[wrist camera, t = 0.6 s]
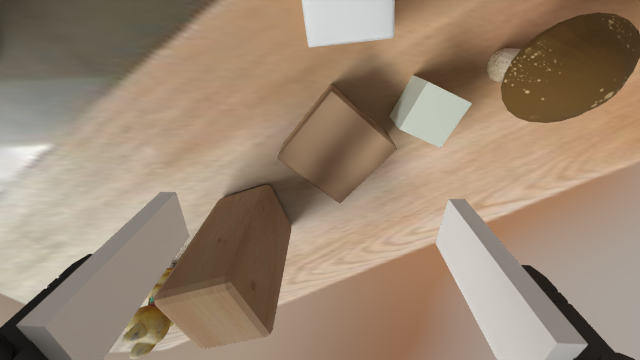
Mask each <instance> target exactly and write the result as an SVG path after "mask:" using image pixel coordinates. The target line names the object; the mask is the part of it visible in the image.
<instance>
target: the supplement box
mask: <svg viewBox="0 0 640 360" xmlns="http://www.w3.org/2000/svg"><path fill="white" fill-rule="evenodd" d="M394 5H395V0H302V7H303V14H304V21H305V28H306V34H307V41H308V46H309V47H320V46H329V45H338V44H348V43H356V42H365V41H373V40H381V39H389V38H393V36H394Z"/></svg>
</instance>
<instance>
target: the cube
mask: <svg viewBox="0 0 640 360" xmlns="http://www.w3.org/2000/svg"><path fill="white" fill-rule="evenodd" d="M471 104H472V103H470V102H468V101H466V100H464V99H462V98H460V97H458V96H456V95H454V94H452V93H450V92H448V91H446V90H444V89H442V88H440V87H438V86H436V85H434V84H432V83H430V82H428V81H426V80H423V79H421V78H419V77H416V76H414V75H412V77H411V79H410V80H409V82H408V84H407V86H406V87H405V89H404V91H403V93H402V95H401V96H400V98H399V100H398V102H397V103H396V105H395V107H394V109H393V110H392V112H391V114H390V116H389V117H390V118H391V119H392V121H393V122H394V123H395V125H396V126H397V127H398V128H399V129H400V130H402V131H404V132H406V133H409V134H411V135H413V136H415V137H417V138H420V139H422V140H424V141H426V142H429V143H431V144H433V145H435V146H437V147H440V148H441V147H442V145H443V144H444V142H445V141H446V140H447V138H448V137H449V135H450V134H451V132H452V131H453V130H454V128H455V127H456V125H457V124H458V123H459V121H460V120H461V118H462V117H463V115H464V114H465V113H466V111H467V110H468V108H469V107H470V106H471Z"/></svg>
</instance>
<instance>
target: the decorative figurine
mask: <svg viewBox="0 0 640 360" xmlns="http://www.w3.org/2000/svg"><path fill="white" fill-rule="evenodd" d="M172 269H173V268H167V269H166V270H165V272H164V273H163V275H162V276H161V278H160V279H159V280H158V282H157V283H156V285H155V286H154V288H153V289H152V290H151V292H150V293H149V295H148V296H147V298H149V302H148V306H144V307H141V308H139V309H138V311H137V312H136V313H135V315H134V316H133V318H132V319H131V321H130V322H129V323H128V325H127V333H126V334H125V335H124V337H123V339H122V340H123V342H124V343H130V342H133V343H135V346H134V347H133V349H132V350H131V352H130V355H129V357H130V359H136V358H139V357H141V356H143V355H146V354H147V353H149V352H150V351H151V350H152V349H153V348H154V346H155V345H156V343H158V342H159V341H161V340H162V339H163V338H164V337H165V335H166V334H167V332H168V330H169V327H170V326H172V325H173V324H174V323H173V322H172V321H171V320H170V319H169V318H168V317H167V316H166V315H165V314H164V313H163V312H162V311H161V310H160V309H159V308H158V307H157V306H156V305H155V303H154V298H155V295H156V293H157V292H158V290H159V289H160V287H161V286H162V284H163V283H164V281H165V280H166V278H167V277H168V275H169V274H170V272H171V271H172Z"/></svg>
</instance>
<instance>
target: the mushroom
mask: <svg viewBox="0 0 640 360" xmlns="http://www.w3.org/2000/svg"><path fill="white" fill-rule="evenodd" d="M639 58H640V35H639V31H638V30H637V29H636V28H635V26H634V25H633V24H632V23H631V22H630V21H629V20H627V19H625V18H622V17H620V16H618V15H615V14H607V13H593V14H586V15H580V16H576V17H574V18H571V19H568V20H565V21H563V22H560V23H558V24H556V25H554V26H553V27H551V28H549V29H547V30H546V31H544V32H542V33H540V34H539V35H537V36H536V37H535V38H534V39H533V40H531V41H530V42H529V43H528V44H526V45H525V46H524V47H523V48H522V49H513V48H504V49H501V50H499V51H497V52H495V53H494V54H493V55H492V56H491V57H490V59H489V61H488V63H487V74H488V76H489V77H490V79H491V80H493V81H496V82H502V86H501V92H502V100H503V102H504V104H505V106H506V108H507V110H508V111H509V112H511V113H512V114H513V115H514V116H516V117H517V118H520V119H523V120H526V121H529V122H542V123H549V122H557V121H563V120H566V119H570V118H573V117H576V116H579V115H581V114H583V113H585V112H587V111H589V110H591V109H594V108H596V107H598V106H600V105H601V104H603V103H605V102H607V101H608V100H609V99H611V98H612V97H613V96H614V95H615V94H616V93H617V92H618V91H619V90H620V89H621V88H622V87H623V85H624V84H625V82H626V81H627V79H628V78H629V76H630V75H631V74H632V72H633V71H634V69H635V66H636V64H637V62H638V60H639Z"/></svg>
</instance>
